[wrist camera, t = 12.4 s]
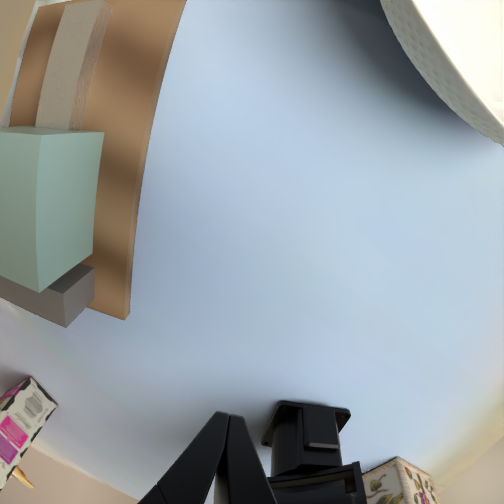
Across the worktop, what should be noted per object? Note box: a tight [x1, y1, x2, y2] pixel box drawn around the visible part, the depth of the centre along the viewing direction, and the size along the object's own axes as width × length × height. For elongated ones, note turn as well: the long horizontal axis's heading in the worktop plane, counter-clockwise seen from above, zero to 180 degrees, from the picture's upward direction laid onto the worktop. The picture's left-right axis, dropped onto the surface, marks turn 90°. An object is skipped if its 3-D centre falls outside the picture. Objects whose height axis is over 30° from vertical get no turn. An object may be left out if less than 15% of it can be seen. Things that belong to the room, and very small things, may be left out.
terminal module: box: [0, 126, 105, 293], centre depth 15 cm, size 8×6×6 cm
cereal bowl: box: [380, 0, 504, 146], centre depth 10 cm, size 17×17×7 cm
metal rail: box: [35, 0, 114, 131], centre depth 16 cm, size 20×3×2 cm, turn 167°
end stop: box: [0, 263, 95, 328], centre depth 18 cm, size 2×7×4 cm, turn 77°
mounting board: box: [9, 0, 187, 320], centre depth 17 cm, size 22×12×1 cm, turn 167°
